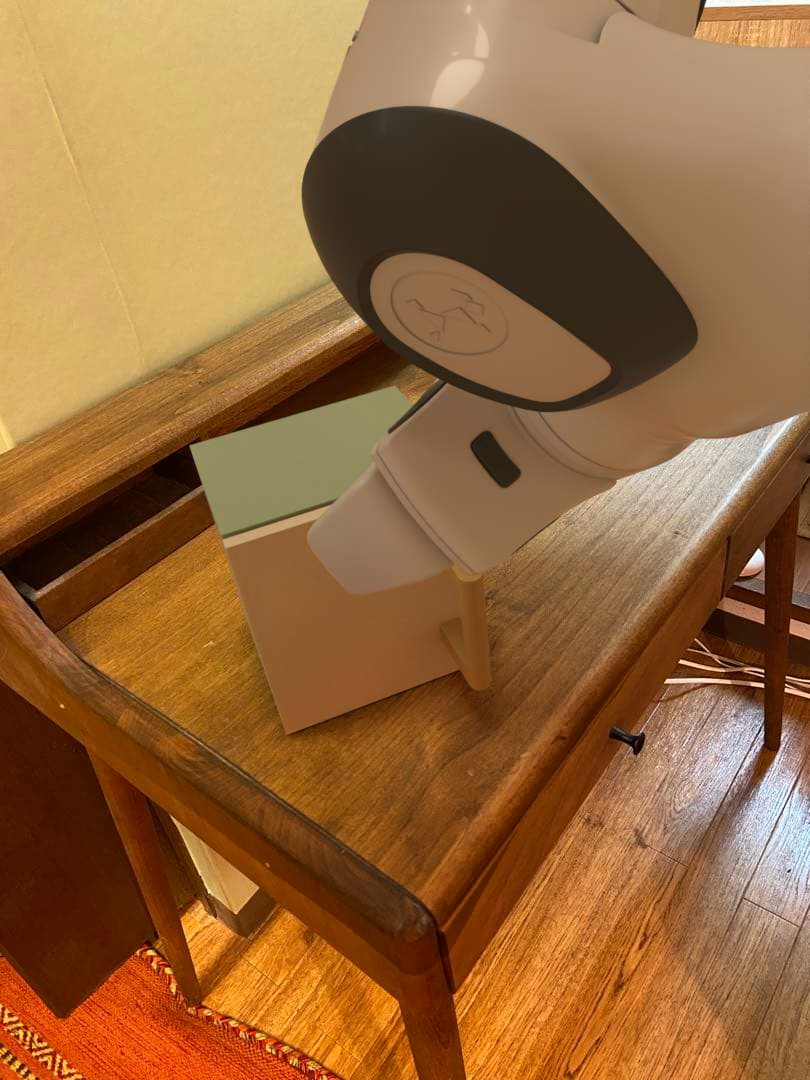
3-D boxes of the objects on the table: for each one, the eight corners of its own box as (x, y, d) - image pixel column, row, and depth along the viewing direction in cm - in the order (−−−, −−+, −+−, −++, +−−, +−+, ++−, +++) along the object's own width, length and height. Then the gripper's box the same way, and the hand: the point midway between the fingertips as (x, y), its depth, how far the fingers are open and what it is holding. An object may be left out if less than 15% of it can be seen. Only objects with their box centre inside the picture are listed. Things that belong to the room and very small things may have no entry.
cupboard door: (519, 713, 59) (509, 517, 48) (308, 797, 56) (245, 607, 45) (479, 651, 64) (462, 462, 53) (283, 725, 61) (222, 539, 50)
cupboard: (477, 651, 64) (460, 458, 53) (282, 724, 61) (220, 535, 50) (420, 564, 74) (395, 384, 62) (248, 624, 70) (189, 445, 59)
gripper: (653, 209, 38) (494, 329, 50) (351, 467, 29) (248, 536, 41) (730, 319, 39) (556, 411, 51) (461, 602, 30) (328, 631, 42)
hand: (417, 468), depth 46 cm, fingers open, 8 cm apart
